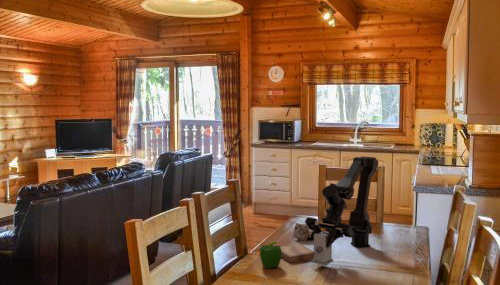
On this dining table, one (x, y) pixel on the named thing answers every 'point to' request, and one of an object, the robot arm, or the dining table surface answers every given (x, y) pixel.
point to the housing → (322, 249)
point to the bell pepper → (270, 255)
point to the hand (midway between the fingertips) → (321, 245)
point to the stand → (296, 253)
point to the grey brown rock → (302, 232)
